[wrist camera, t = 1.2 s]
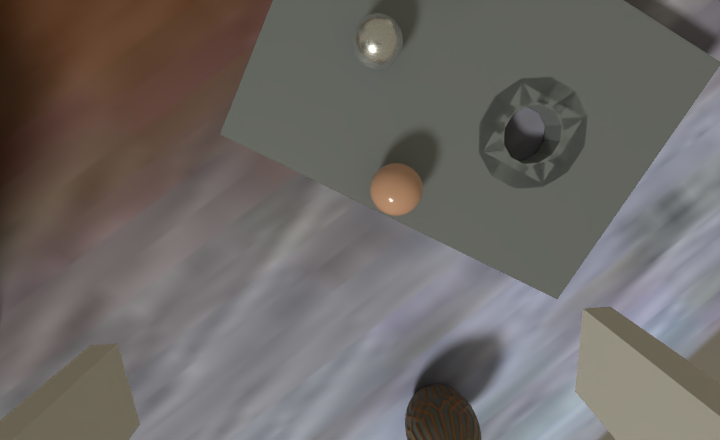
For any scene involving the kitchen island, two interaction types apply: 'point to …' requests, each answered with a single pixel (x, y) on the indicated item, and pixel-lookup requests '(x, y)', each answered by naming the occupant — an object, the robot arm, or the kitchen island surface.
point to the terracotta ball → (396, 189)
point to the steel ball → (377, 41)
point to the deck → (476, 115)
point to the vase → (440, 416)
